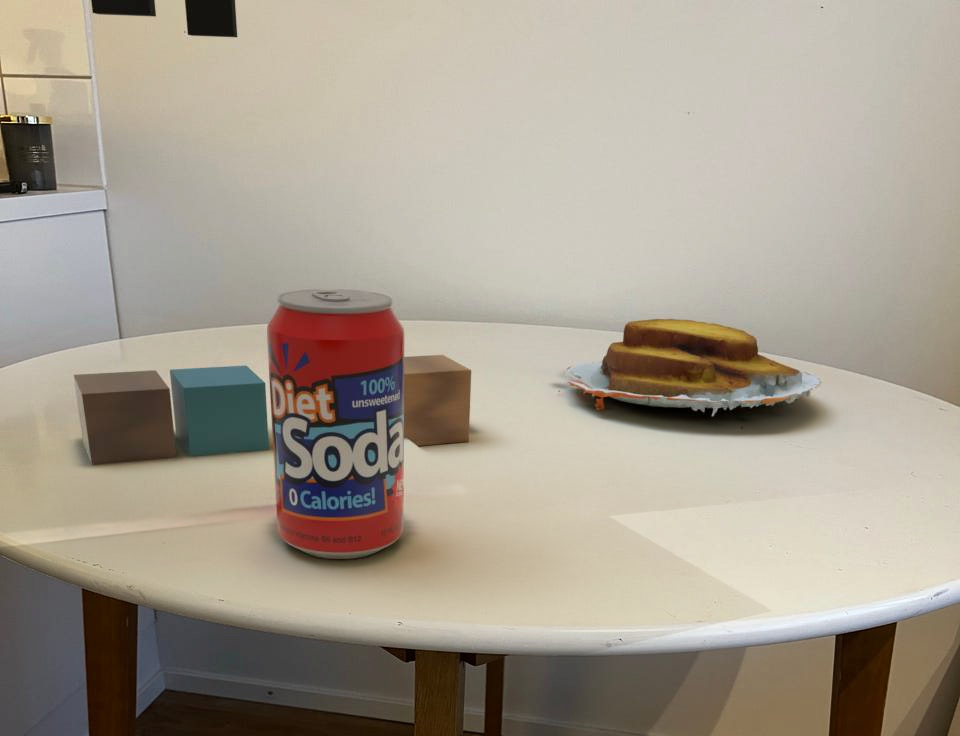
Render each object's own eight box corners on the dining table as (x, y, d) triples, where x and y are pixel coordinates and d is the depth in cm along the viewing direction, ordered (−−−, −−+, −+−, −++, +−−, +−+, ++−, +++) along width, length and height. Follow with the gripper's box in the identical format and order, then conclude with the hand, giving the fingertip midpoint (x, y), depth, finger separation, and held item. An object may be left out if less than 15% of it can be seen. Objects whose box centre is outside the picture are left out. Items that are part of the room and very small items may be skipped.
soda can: (374, 514, 69) (372, 283, 62) (423, 555, 63) (427, 304, 56) (262, 530, 66) (247, 288, 59) (303, 575, 60) (291, 311, 53)
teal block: (191, 467, 77) (183, 387, 74) (176, 445, 81) (169, 369, 79) (269, 460, 79) (265, 382, 76) (251, 438, 84) (246, 365, 81)
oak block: (402, 447, 83) (402, 374, 80) (377, 428, 88) (377, 358, 85) (469, 441, 85) (471, 369, 83) (441, 423, 90) (443, 354, 88)
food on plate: (593, 434, 89) (600, 358, 86) (537, 371, 111) (541, 308, 108) (864, 433, 93) (880, 360, 90) (758, 371, 114) (768, 311, 111)
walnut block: (93, 476, 74) (81, 393, 71) (84, 452, 79) (73, 374, 76) (177, 468, 76) (169, 388, 73) (164, 446, 81) (156, 370, 78)
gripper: (89, -786, 32) (162, 5, 42) (280, -416, 54) (298, 44, 64) (-142, -786, 32) (-16, -1, 42) (141, -418, 54) (181, 40, 64)
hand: (173, 27), depth 53 cm, fingers open, 13 cm apart
